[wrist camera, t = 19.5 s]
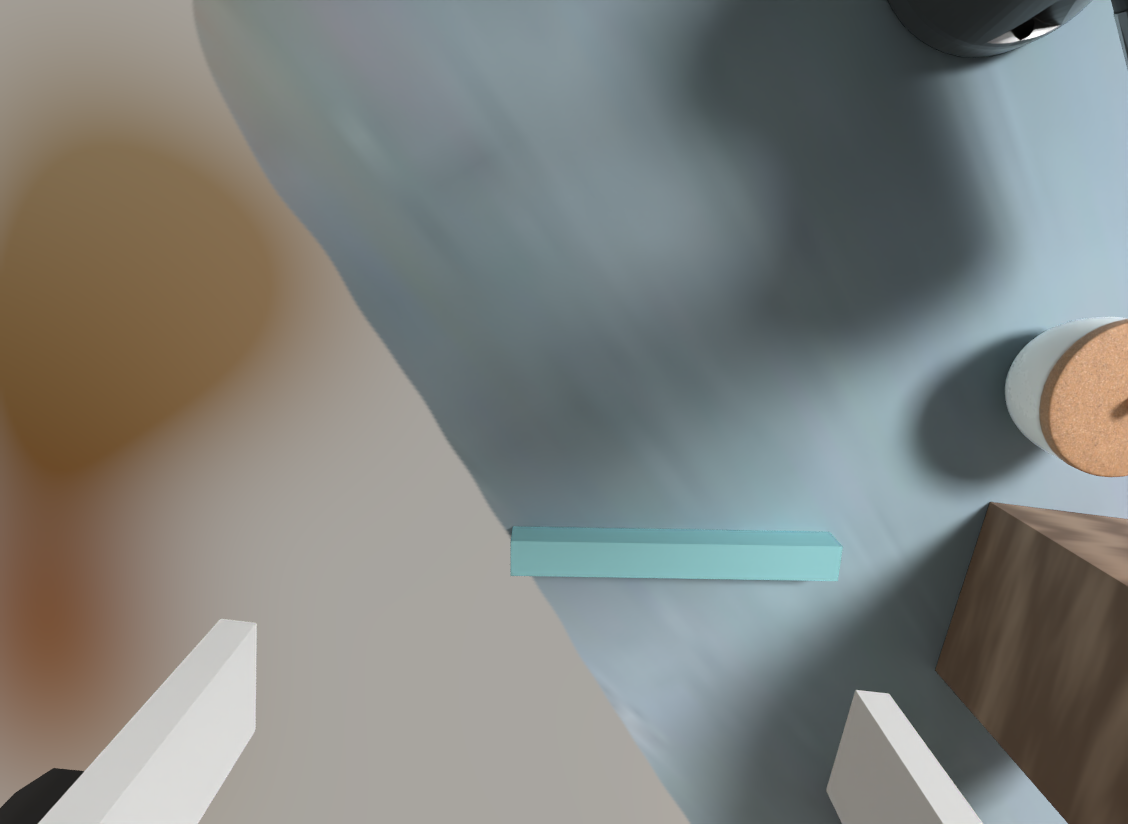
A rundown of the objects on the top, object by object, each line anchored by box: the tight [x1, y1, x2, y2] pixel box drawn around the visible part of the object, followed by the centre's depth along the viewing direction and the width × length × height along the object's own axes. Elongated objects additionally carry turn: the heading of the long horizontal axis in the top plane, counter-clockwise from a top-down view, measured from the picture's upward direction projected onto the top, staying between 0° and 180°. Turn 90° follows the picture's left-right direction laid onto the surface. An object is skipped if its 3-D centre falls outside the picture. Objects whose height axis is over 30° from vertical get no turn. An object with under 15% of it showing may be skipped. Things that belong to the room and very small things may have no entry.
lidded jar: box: [1005, 317, 1128, 477], centre depth 46 cm, size 11×11×9 cm
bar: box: [511, 526, 843, 581], centre depth 52 cm, size 26×3×3 cm, turn 89°
